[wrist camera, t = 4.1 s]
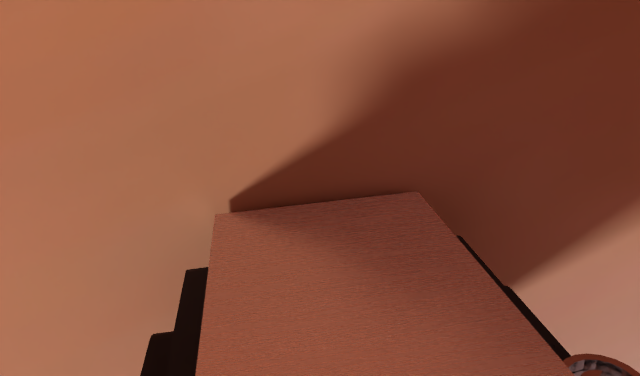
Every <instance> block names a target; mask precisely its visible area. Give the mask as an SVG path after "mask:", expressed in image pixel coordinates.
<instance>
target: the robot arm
mask: <svg viewBox="0 0 640 376" xmlns="http://www.w3.org/2000/svg"><path fill="white" fill-rule="evenodd" d="M456 237H457V238H458V239H459V240H460V242H461V243H462V244H463V245H464V246H465V247H466V249H467V250H468V251H469V252H470V253H471V255H472V256H473V257H474V258H475V259H476V260H477V262H478V263H479V264H480V265H481V266H482V267H483V269H484V270H485V271H486V272H487V273H488V274H489V276H490V277H491V278H492V279H493V280H494V281H495V283H496V284H497V285H498V286H499V287H500V289H501V290H502V291H503V292H504V293H505V294H506V296H507V297H508V298H509V299H510V300H511V301H512V303H513V304H514V305H515V306H516V307H517V308H518V310H519V311H520V312H521V313H522V314H523V315H524V317H525V318H526V319H527V320H528V321H529V322H530V324H531V325H532V326H533V327H534V328H535V330H536V331H537V332H538V333H539V334H540V335H541V337H542V338H543V339H544V340H545V341H546V342H547V344H548V345H549V346H550V347H551V348H552V349H553V351H554V352H555V353H556V354H557V355H558V356H559V358H560V359H561V360H562V361H563V362H564V363H565V365H566V366H567V367H568V368H569V369H570V371H571V372H572V373H573V374H574V375H575V376H640V373H638V372H637V371H636V370H634V369H633V368H631V367H630V366H629V365H626V364H624V363H622V362H620V361H618V360H616V359H613V358H609V357H606V356H602V355H595V354H578V355H573V356H571V355H570V354H569V353H568V352H567V351H566V350H565V349H564V348H563V346H562V345H561V344H560V343H559V342H558V341H557V340H556V339H555V337H554V336H553V335H552V334H551V333H550V332H549V331H548V330H547V328H546V327H545V326H544V325H543V324H542V323H541V322H540V321H539V319H538V318H537V317H536V316H535V315H534V314H533V313H532V312H531V310H530V309H529V308H528V307H527V306H526V305H525V304H524V303H523V301H522V300H521V299H520V298H519V297H518V296H517V295H516V294H515V292H514V291H513V290H512V289H510V288H509V287H508V286H504V285H503V284H502V283H501V282H500V281H499V279H498V278H497V277H496V276H495V275H494V274H493V273H492V271H491V270H490V269H489V268H488V267H487V266H486V265H485V263H484V262H483V261H482V260H481V259H480V258H479V257H478V255H477V254H476V253H475V252H474V251H473V250H472V249H471V247H470V246H469V245H468V244H467V243H466V242H465V241H464V239H463V238H462V237H461V236H456ZM208 268H209V267H206V268H198V269H190V270H186V273H185V278H184V283H183V288H182V293H181V298H180V303H179V308H178V313H177V318H176V323H175V328H174V331H172V332H165V333H157V334H153V335H152V336H151V338H150V341H149V345H148V349H147V352H146V356H145V360H144V364H143V368H142V371H141V375H140V376H195V374H196V366H197V358H198V350H199V342H200V333H201V325H202V317H203V309H204V301H205V293H206V285H207V276H208Z"/></svg>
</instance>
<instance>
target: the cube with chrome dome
mask: <svg viewBox="0 0 640 376" xmlns="http://www.w3.org/2000/svg"><path fill="white" fill-rule="evenodd" d="M195 376H575V375H574V374H573V373H572V372H571V371H570V369H569V368H568V367H567V366H566V365H565V363H564V362H563V361H562V360H561V359H560V358H559V356H558V355H557V354H556V353H555V352H554V351H553V349H552V348H551V347H550V346H549V345H548V344H547V342H546V341H545V340H544V339H543V338H542V337H541V335H540V334H539V333H538V332H537V331H536V330H535V328H534V327H533V326H532V325H531V324H530V322H529V321H528V320H527V319H526V318H525V317H524V315H523V314H522V313H521V312H520V311H519V310H518V308H517V307H516V306H515V305H514V304H513V303H512V301H511V300H510V299H509V298H508V297H507V296H506V294H505V293H504V292H503V291H502V290H501V289H500V287H499V286H498V285H497V284H496V283H495V281H494V280H493V279H492V278H491V277H490V276H489V274H488V273H487V272H486V271H485V270H484V269H483V267H482V266H481V265H480V264H479V263H478V262H477V260H476V259H475V258H474V257H473V256H472V255H471V253H470V252H469V251H468V250H467V249H466V247H465V246H464V245H463V244H462V243H461V242H460V240H459V239H458V238H457V237H456V236H455V235H454V233H453V232H452V231H451V230H450V229H449V228H448V226H447V225H446V224H445V223H444V222H443V221H442V219H441V218H440V217H439V216H438V215H437V214H436V212H435V211H434V210H433V209H432V208H431V206H430V205H429V204H428V203H427V202H426V201H425V199H424V198H423V197H422V196H421V195H420V194H419V192H418V191H416V192H407V193H398V194H390V195H381V196H372V197H364V198H355V199H346V200H338V201H329V202H320V203H312V204H303V205H294V206H285V207H277V208H268V209H259V210H251V211H242V212H233V213H225V214H216V215H215V219H214V227H213V236H212V244H211V252H210V260H209V268H208V276H207V285H206V293H205V301H204V309H203V317H202V325H201V333H200V342H199V350H198V358H197V366H196V374H195Z"/></svg>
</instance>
